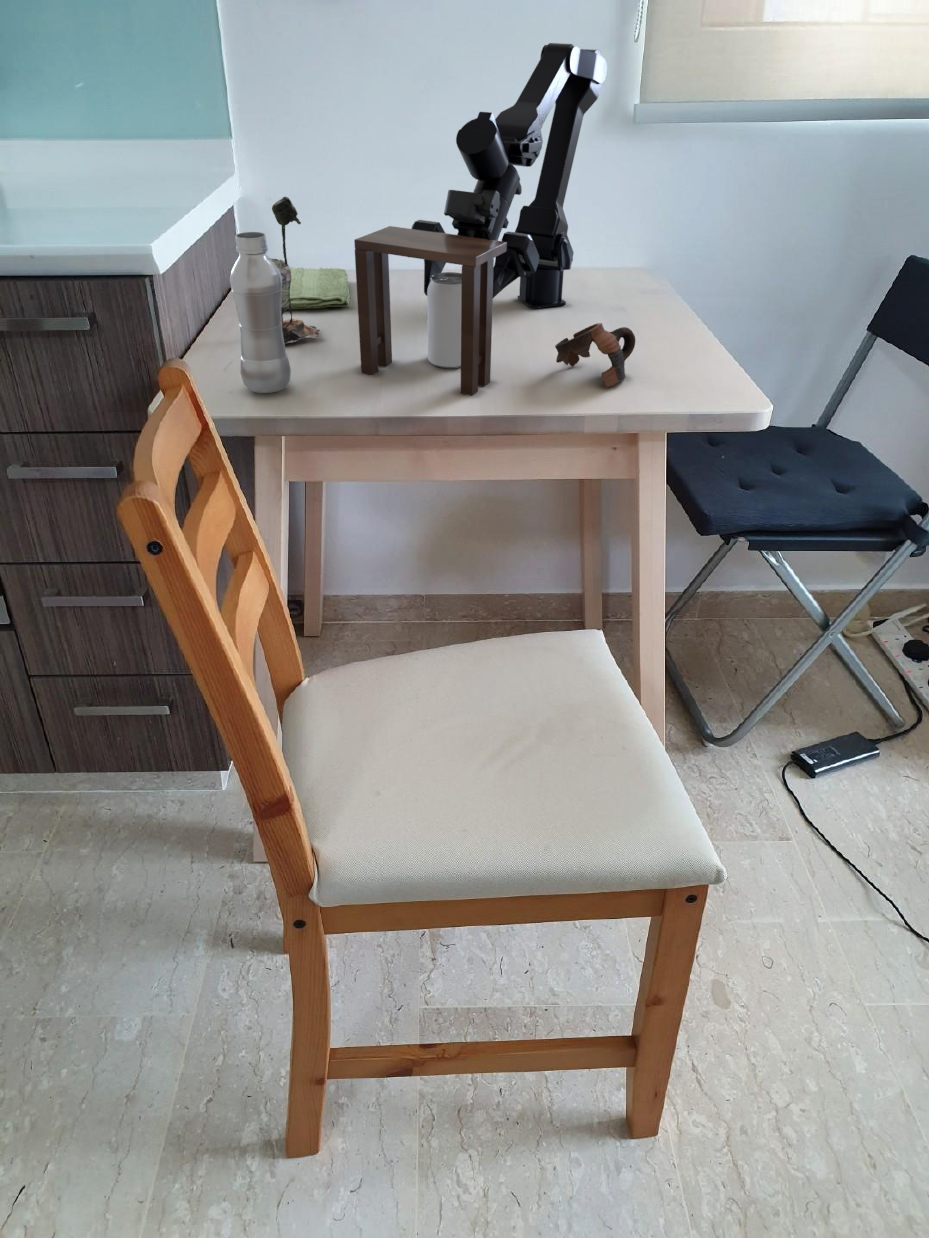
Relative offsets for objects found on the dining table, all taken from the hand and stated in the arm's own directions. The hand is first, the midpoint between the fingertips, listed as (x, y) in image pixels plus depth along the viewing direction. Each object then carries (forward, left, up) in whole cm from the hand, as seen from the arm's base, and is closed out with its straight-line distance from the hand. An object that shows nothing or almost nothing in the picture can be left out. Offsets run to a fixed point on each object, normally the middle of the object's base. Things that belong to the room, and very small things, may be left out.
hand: (454, 299), depth 132 cm
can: (+1, +1, -9) cm, 9 cm away
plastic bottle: (+28, +2, -9) cm, 30 cm away
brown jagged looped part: (-17, +13, -9) cm, 23 cm away
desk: (+5, +4, -9) cm, 11 cm away
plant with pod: (+21, -18, -9) cm, 29 cm away
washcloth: (+11, -38, -9) cm, 40 cm away
